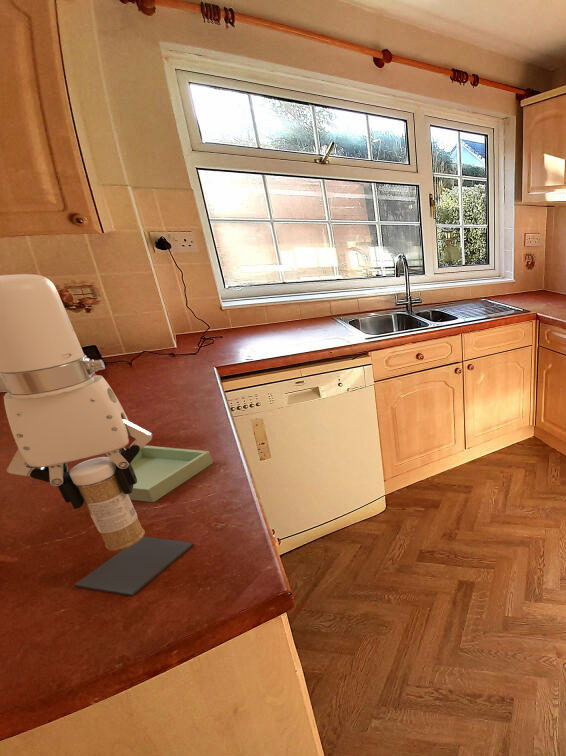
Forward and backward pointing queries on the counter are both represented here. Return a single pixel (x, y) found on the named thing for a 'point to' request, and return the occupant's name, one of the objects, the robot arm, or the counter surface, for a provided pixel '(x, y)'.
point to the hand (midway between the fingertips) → (105, 495)
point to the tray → (164, 470)
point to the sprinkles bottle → (107, 503)
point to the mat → (134, 566)
